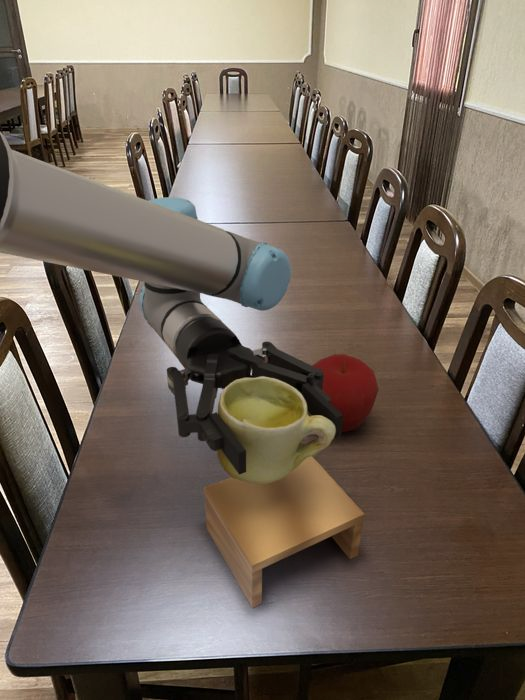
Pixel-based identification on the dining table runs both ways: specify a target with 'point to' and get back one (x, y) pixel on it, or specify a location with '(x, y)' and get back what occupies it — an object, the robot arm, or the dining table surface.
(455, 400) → the dining table surface
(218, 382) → the robot arm
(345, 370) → the apple
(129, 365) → the dining table surface
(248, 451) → the mug
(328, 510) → the shelf
